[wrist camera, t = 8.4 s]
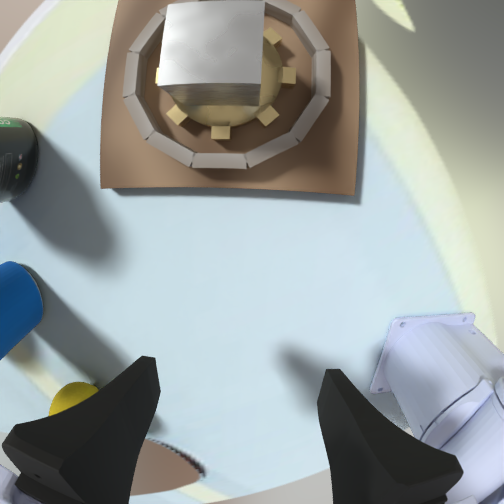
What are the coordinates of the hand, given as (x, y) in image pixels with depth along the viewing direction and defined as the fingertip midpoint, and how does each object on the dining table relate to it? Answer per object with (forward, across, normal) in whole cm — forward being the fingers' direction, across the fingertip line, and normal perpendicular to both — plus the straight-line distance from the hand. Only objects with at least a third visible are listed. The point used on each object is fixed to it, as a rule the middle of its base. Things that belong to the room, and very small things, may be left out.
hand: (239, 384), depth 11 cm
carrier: (+9, +2, -14) cm, 17 cm away
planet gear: (+8, +2, -14) cm, 16 cm away
